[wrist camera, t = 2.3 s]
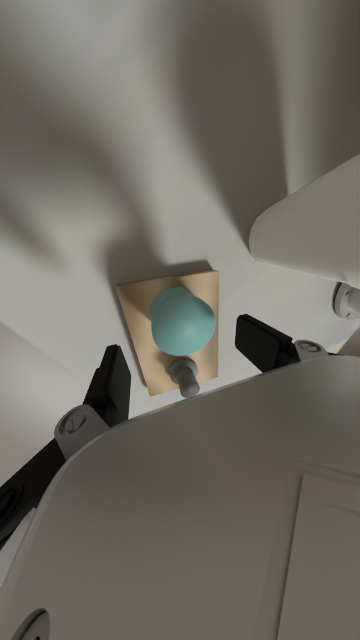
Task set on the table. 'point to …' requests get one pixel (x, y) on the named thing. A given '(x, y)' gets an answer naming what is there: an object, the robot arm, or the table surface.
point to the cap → (181, 322)
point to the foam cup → (315, 228)
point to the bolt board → (156, 364)
